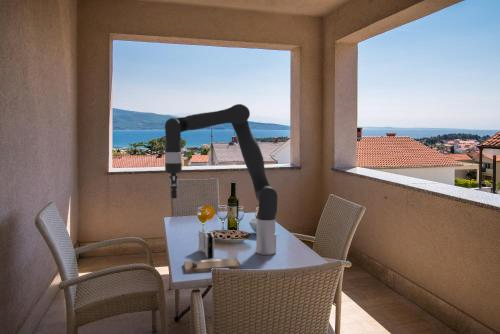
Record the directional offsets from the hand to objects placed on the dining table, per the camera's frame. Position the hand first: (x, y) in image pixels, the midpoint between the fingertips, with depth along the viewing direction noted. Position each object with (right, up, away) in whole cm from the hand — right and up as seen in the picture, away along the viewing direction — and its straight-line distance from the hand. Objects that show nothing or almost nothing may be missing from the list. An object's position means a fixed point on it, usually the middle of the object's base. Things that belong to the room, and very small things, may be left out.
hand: (173, 196), depth 174 cm
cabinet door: (+19, -30, -8) cm, 37 cm away
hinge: (+14, -29, +10) cm, 34 cm away
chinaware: (+42, -26, +49) cm, 70 cm away
